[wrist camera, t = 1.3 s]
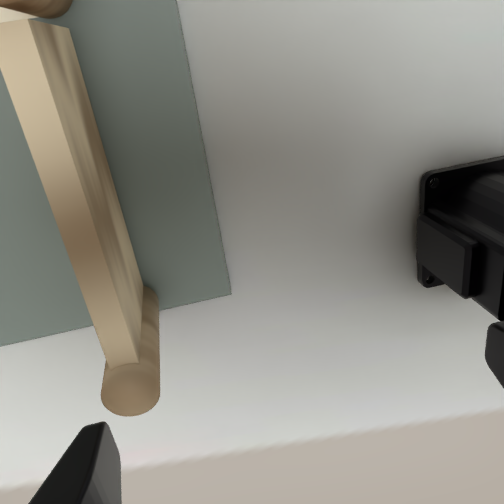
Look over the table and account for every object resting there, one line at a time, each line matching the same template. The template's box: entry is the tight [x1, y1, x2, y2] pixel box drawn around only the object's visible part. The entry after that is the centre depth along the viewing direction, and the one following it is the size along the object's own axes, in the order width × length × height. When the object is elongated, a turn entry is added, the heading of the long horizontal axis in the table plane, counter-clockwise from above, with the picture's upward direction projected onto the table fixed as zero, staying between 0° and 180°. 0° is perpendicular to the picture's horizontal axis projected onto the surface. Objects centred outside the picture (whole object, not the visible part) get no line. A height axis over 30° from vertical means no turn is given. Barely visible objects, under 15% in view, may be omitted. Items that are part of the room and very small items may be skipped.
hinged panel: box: [0, 19, 160, 416], centre depth 16 cm, size 13×2×6 cm, turn 8°
